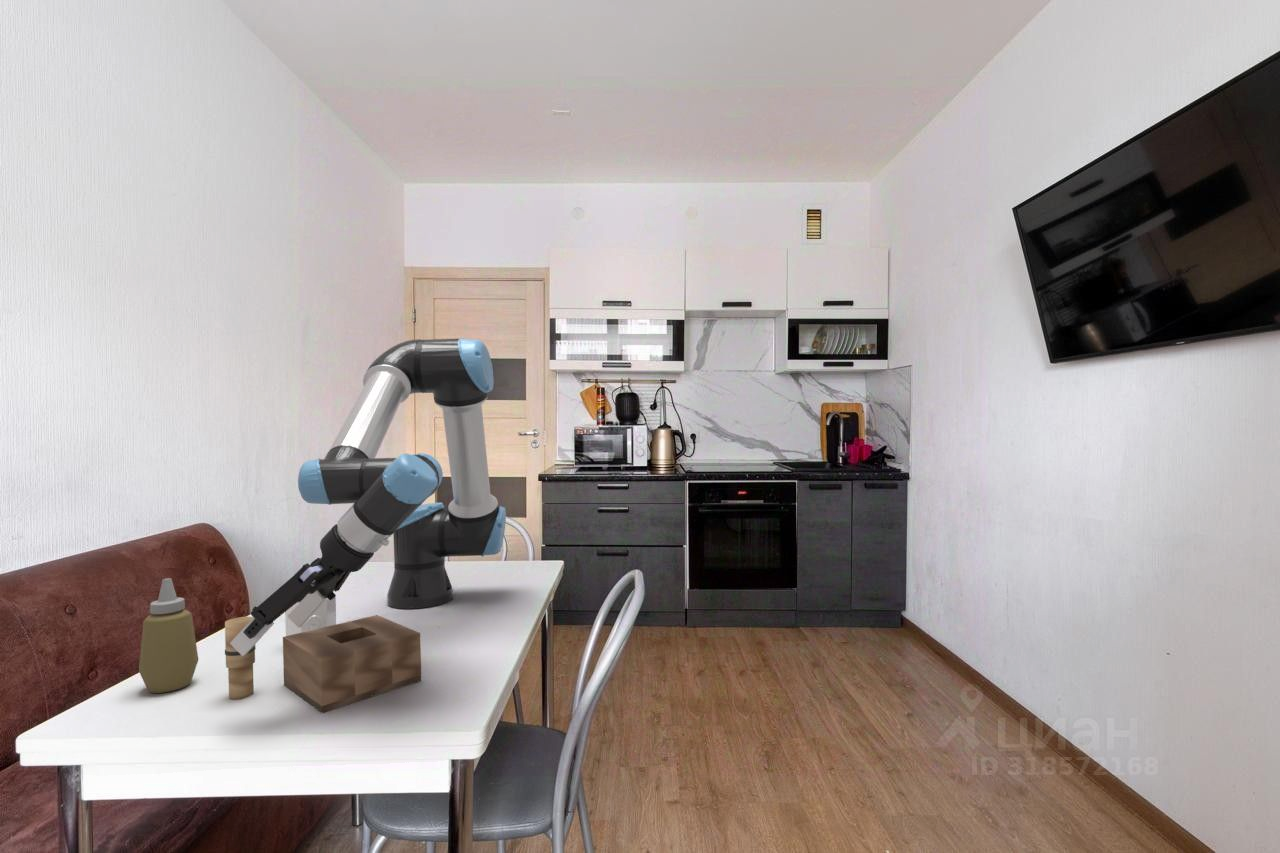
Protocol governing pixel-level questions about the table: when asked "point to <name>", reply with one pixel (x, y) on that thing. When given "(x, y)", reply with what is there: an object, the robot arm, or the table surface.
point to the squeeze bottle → (168, 643)
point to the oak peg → (238, 661)
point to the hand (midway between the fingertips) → (267, 634)
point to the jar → (313, 617)
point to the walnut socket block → (351, 661)
